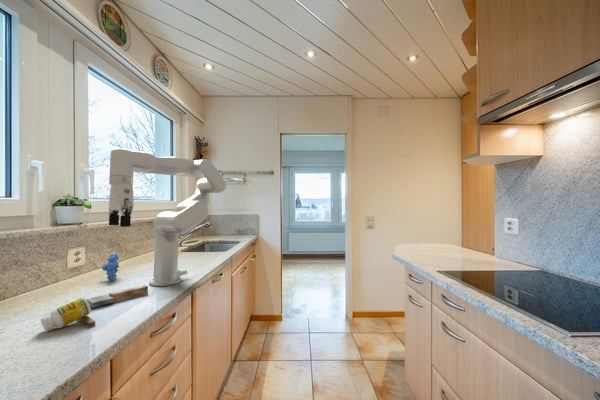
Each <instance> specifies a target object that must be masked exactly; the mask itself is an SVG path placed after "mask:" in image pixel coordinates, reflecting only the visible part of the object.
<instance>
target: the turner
mask: <svg viewBox="0 0 600 400" xmlns="http://www.w3.org/2000/svg"><path fill="white" fill-rule="evenodd" d="M148 294H149V285H148V286H147V285H145V284H144V285H139V286H136V287H135V286H134V287H132V288H131V287H130V288H126V289H122V290H118V291H114V292H109V293H108V294H103V295H99V296H98V295H97V296H93V297H90V298H86V300H87V301H88V303H89V305H90V308H91V309H92V308H96V307H100V306H104V305H108V304H113V303H118V302H121V301H122V302H123V301H126V300H129V299H133V298H137V297H141V296H145V295H148Z"/></svg>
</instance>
